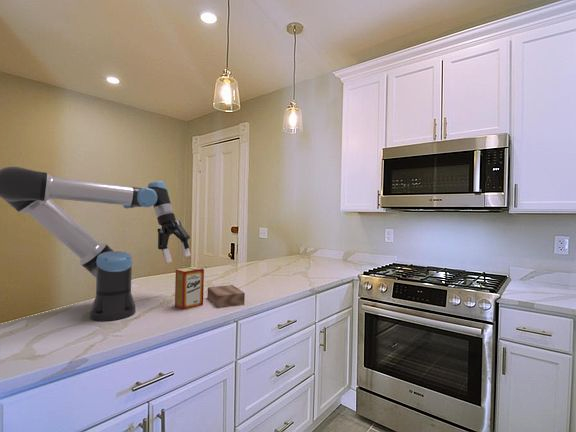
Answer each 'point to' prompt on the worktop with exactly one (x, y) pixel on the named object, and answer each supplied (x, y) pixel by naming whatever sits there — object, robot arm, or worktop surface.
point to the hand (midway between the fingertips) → (178, 259)
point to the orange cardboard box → (189, 287)
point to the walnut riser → (225, 296)
